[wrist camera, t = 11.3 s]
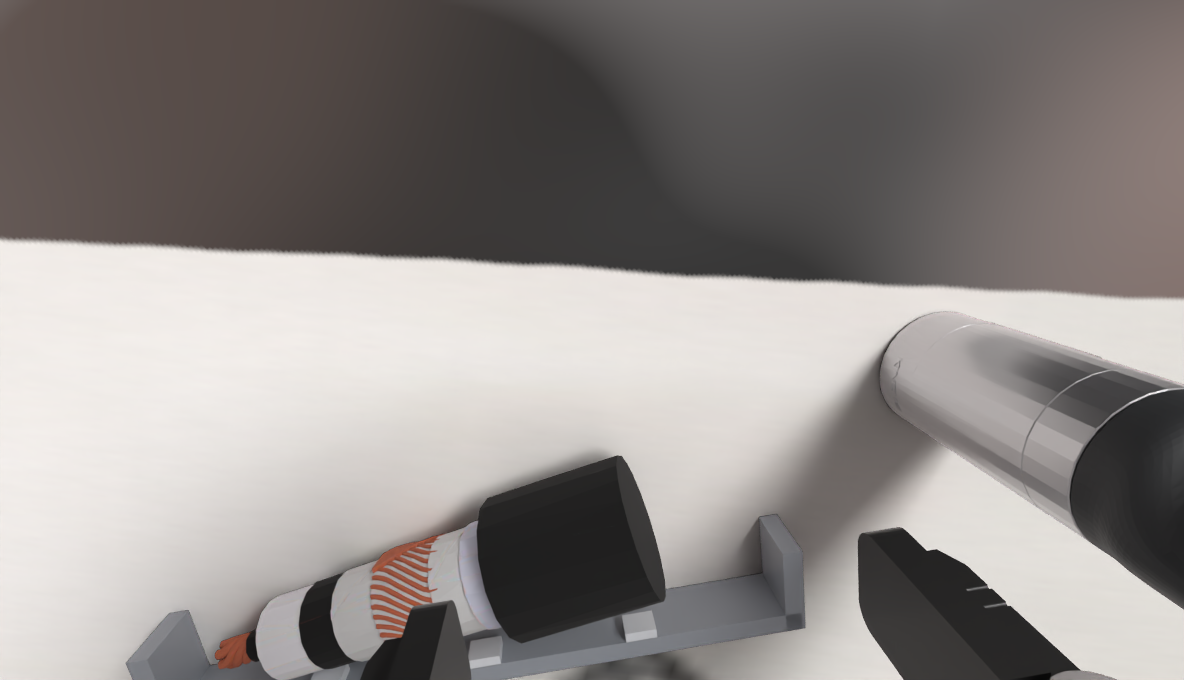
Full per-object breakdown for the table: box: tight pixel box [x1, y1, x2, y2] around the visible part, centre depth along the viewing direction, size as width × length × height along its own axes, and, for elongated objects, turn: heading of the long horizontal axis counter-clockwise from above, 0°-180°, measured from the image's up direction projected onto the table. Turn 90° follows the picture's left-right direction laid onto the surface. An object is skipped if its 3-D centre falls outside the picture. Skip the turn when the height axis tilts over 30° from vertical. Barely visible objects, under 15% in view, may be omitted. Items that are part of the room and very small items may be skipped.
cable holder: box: [126, 514, 805, 680], centre depth 46 cm, size 50×7×5 cm, turn 98°
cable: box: [215, 456, 666, 680], centre depth 43 cm, size 10×34×10 cm, turn 111°
